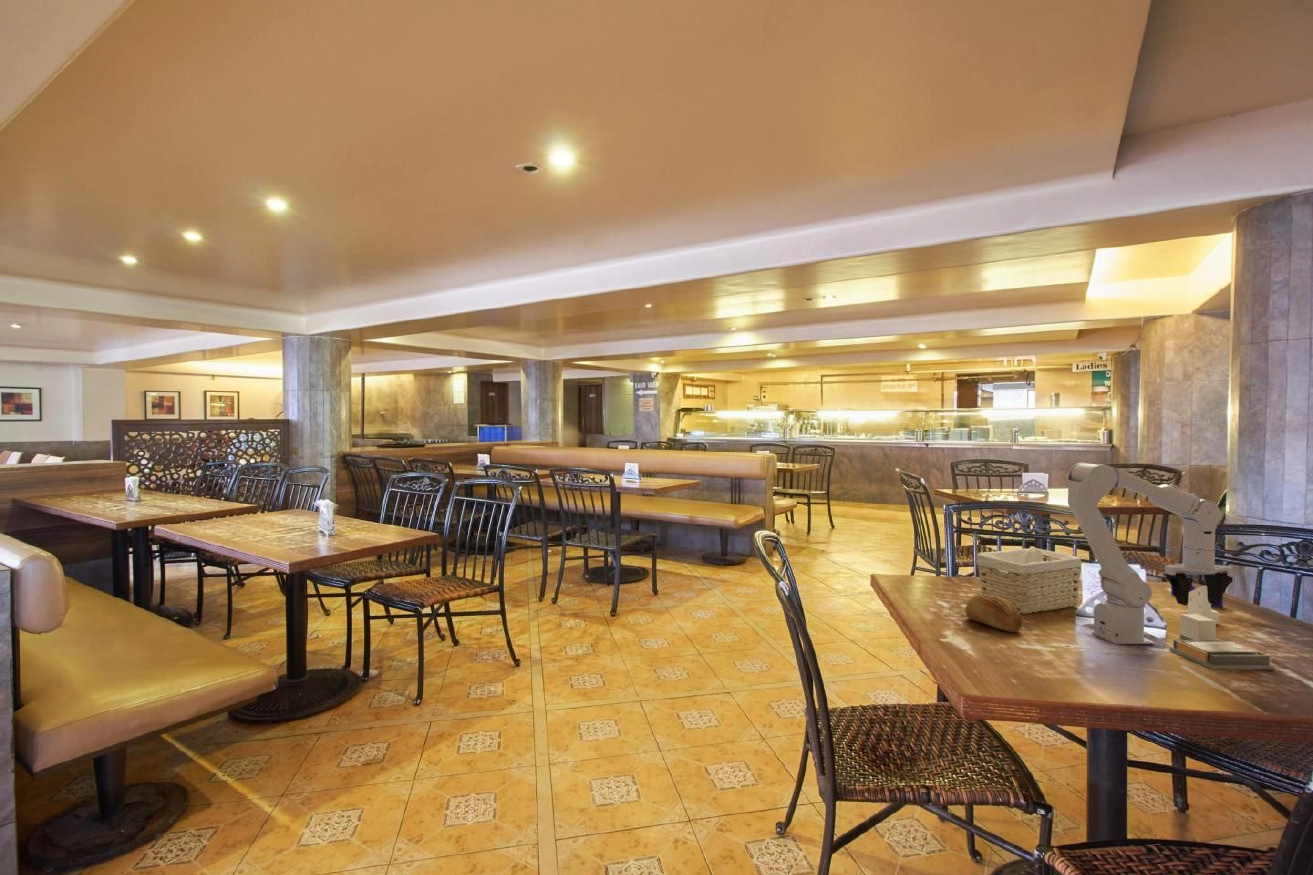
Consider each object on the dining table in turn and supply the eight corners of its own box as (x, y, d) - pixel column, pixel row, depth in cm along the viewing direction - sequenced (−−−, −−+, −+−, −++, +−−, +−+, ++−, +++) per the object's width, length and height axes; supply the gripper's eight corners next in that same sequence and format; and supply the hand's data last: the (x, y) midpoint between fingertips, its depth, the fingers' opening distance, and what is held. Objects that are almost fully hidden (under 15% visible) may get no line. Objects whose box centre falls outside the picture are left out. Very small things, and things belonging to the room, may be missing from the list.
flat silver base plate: (1207, 656, 130) (1207, 651, 130) (1183, 645, 136) (1183, 641, 136) (1257, 655, 130) (1257, 651, 130) (1231, 645, 136) (1231, 641, 136)
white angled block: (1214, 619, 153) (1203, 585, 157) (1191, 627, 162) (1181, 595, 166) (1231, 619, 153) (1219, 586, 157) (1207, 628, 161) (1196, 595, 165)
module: (1198, 645, 142) (1198, 620, 141) (1180, 638, 147) (1180, 614, 146) (1215, 645, 142) (1215, 620, 141) (1196, 638, 147) (1196, 614, 146)
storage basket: (1021, 616, 164) (1021, 563, 163) (973, 600, 179) (973, 551, 179) (1084, 608, 171) (1085, 557, 171) (1033, 593, 186) (1033, 546, 186)
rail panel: (1213, 669, 128) (1213, 656, 128) (1169, 650, 139) (1169, 638, 139) (1274, 669, 128) (1274, 656, 128) (1225, 649, 139) (1225, 638, 139)
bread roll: (1004, 637, 148) (1004, 605, 147) (954, 619, 162) (955, 590, 161) (1031, 632, 151) (1032, 601, 151) (981, 615, 165) (981, 586, 165)
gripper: (1183, 551, 140) (1182, 609, 140) (1245, 551, 140) (1244, 609, 140) (1157, 545, 147) (1157, 600, 147) (1216, 545, 147) (1216, 600, 147)
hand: (1198, 604), depth 144 cm, fingers open, 7 cm apart
